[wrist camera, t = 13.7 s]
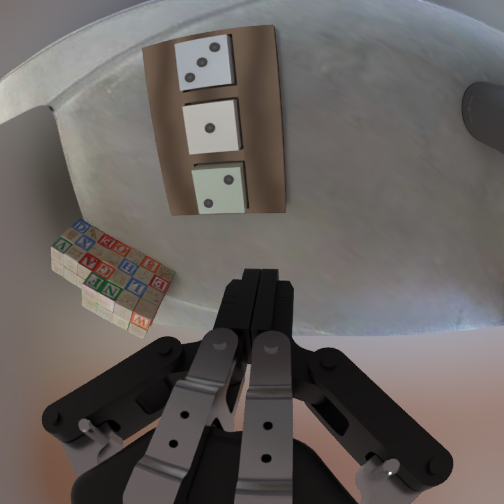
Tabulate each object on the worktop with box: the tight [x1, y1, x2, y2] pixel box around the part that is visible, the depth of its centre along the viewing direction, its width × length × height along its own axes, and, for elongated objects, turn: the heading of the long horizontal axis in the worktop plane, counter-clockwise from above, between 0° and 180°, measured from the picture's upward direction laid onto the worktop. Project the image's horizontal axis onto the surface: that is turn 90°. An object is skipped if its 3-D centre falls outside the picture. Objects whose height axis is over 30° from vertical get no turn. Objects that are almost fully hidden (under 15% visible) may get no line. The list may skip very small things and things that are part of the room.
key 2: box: [192, 160, 248, 214], centre depth 36 cm, size 6×6×3 cm
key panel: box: [142, 25, 286, 216], centre depth 33 cm, size 16×24×3 cm, turn 5°
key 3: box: [175, 34, 237, 91], centre depth 27 cm, size 6×6×3 cm
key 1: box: [182, 99, 243, 155], centre depth 31 cm, size 6×6×3 cm
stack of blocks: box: [51, 219, 175, 339], centre depth 44 cm, size 21×6×12 cm, turn 62°
